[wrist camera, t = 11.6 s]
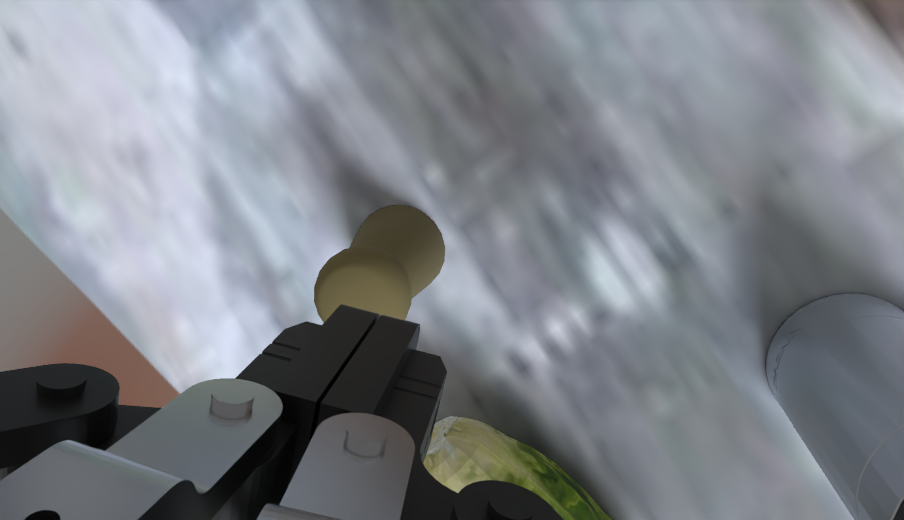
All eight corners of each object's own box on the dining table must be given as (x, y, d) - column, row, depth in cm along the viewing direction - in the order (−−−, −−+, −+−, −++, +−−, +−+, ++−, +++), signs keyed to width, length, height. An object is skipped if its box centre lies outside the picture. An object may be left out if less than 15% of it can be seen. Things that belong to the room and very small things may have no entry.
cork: (340, 224, 46) (277, 273, 36) (422, 190, 45) (381, 230, 34) (378, 305, 47) (328, 374, 37) (459, 274, 46) (431, 338, 36)
